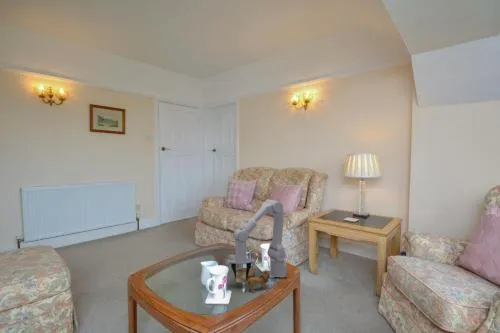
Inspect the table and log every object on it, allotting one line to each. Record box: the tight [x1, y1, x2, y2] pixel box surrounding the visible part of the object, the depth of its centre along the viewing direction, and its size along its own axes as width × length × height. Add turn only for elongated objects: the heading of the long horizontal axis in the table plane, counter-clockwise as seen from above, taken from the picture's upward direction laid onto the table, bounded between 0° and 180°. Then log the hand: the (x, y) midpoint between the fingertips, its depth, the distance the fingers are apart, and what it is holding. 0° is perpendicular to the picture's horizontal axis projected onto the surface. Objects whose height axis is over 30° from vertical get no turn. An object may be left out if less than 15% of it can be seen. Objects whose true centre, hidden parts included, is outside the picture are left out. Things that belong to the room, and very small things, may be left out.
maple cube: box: [235, 268, 247, 283], centre depth 139 cm, size 5×5×5 cm
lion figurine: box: [243, 269, 270, 293], centre depth 135 cm, size 15×5×9 cm, turn 117°
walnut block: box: [234, 267, 255, 282], centre depth 150 cm, size 10×10×4 cm
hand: (241, 277), depth 139 cm, fingers closed on maple cube, 5 cm apart
